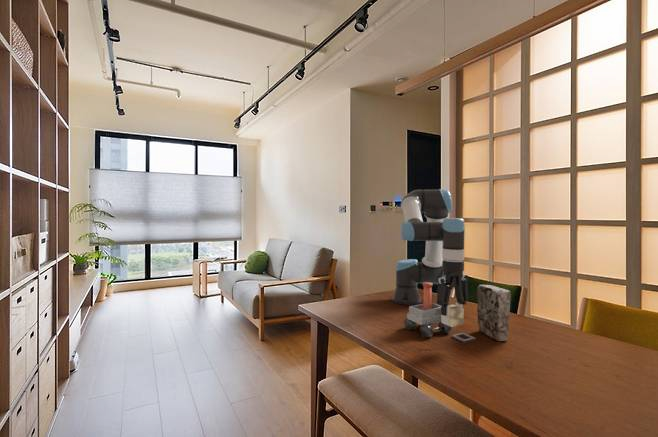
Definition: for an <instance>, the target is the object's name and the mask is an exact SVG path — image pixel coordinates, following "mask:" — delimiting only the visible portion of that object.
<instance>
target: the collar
mask: <svg viewBox="0 0 658 437" xmlns="http://www.w3.org/2000/svg"><path fill="white" fill-rule="evenodd" d="M450 336H451V338H453V339H454V340H457V341H459V342H461V343H463V344H465V343H469V342H474V341H476V340H477V338H476V337H474V336H473V335H469V334H467V333H465V332H460V333H455V334H452V335H450ZM462 337H465V339H464V338H462Z"/></svg>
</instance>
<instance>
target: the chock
mask: <svg viewBox="0 0 658 437" xmlns="http://www.w3.org/2000/svg"><path fill="white" fill-rule="evenodd" d="M448 307H449V325H448V326H450V327H451V328H454V327H457V326H462V325H464V322H465V321H464V320H465V319H464V318H465V317H464V315H465V314H464V313H465V312H464V311H465V308H464V307H463V308H462V307H459V306H456V304H448ZM441 323H442V314H441ZM443 324H444V323H443Z"/></svg>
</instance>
